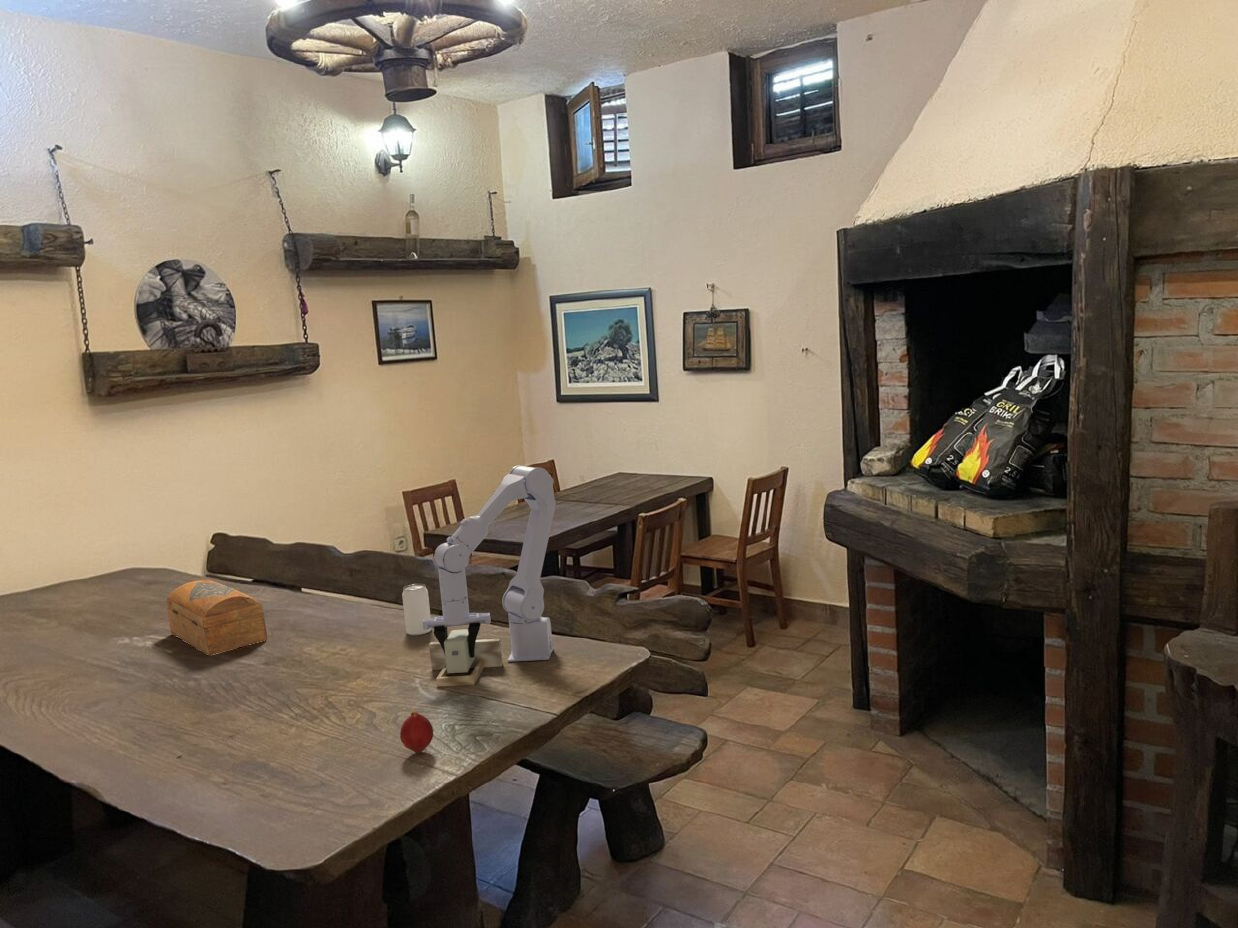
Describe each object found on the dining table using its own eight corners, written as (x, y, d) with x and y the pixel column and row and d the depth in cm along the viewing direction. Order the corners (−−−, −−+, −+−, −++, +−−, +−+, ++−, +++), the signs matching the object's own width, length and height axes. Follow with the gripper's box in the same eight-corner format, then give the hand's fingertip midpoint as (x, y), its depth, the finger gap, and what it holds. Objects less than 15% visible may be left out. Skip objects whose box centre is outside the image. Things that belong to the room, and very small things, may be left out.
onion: (405, 747, 165) (400, 705, 164) (436, 743, 165) (432, 702, 164) (400, 761, 159) (395, 718, 158) (433, 758, 160) (428, 715, 159)
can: (425, 635, 229) (420, 590, 227) (402, 635, 230) (397, 590, 229) (435, 627, 235) (431, 583, 234) (412, 627, 237) (408, 583, 235)
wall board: (502, 663, 204) (500, 638, 204) (492, 683, 193) (489, 657, 192) (433, 667, 206) (430, 642, 205) (419, 687, 194) (416, 660, 193)
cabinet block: (474, 658, 203) (471, 628, 202) (466, 672, 195) (463, 641, 194) (455, 659, 203) (452, 630, 202) (446, 674, 195) (443, 643, 194)
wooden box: (272, 640, 235) (265, 589, 233) (206, 658, 224) (198, 605, 223) (231, 619, 258) (225, 572, 256) (170, 635, 247) (163, 586, 245)
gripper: (488, 589, 202) (494, 647, 204) (423, 595, 201) (429, 654, 202) (486, 598, 195) (492, 658, 197) (419, 604, 194) (425, 665, 195)
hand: (460, 657), depth 199 cm, fingers closed on cabinet block, 5 cm apart
